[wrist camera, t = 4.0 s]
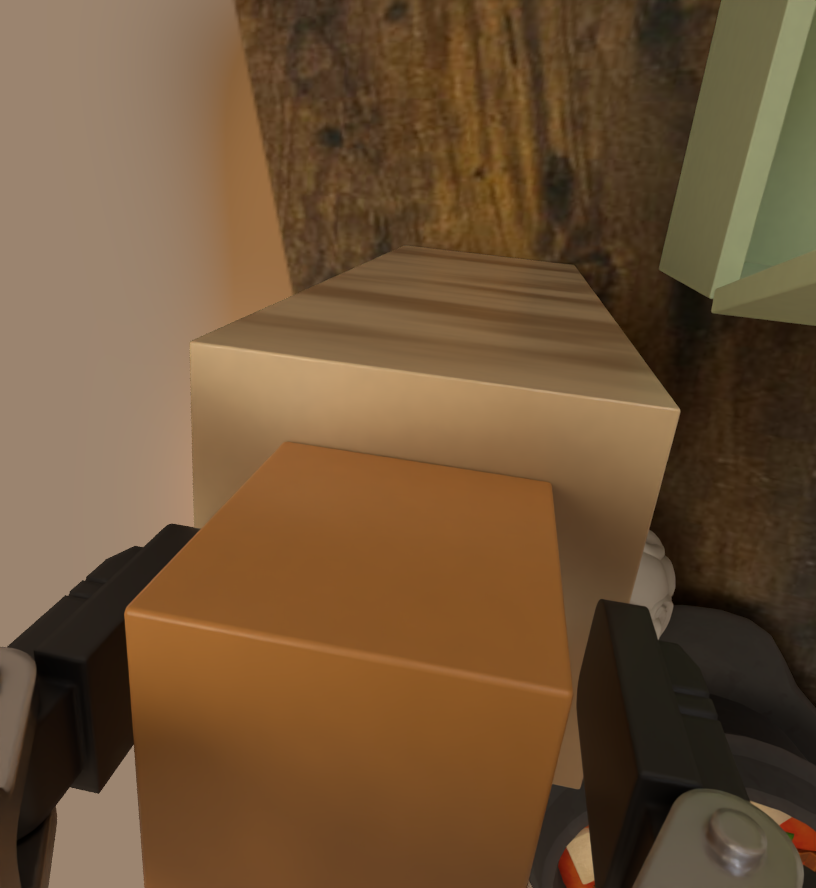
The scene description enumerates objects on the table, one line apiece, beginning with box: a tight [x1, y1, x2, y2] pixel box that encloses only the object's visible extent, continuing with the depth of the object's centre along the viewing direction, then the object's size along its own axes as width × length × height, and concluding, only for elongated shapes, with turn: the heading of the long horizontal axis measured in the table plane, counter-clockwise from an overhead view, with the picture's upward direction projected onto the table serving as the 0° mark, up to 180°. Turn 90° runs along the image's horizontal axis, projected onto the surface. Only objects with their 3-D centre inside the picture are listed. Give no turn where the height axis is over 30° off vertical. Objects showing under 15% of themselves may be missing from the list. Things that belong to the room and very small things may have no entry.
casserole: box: [529, 605, 816, 888], centre depth 36 cm, size 25×19×8 cm
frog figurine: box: [629, 530, 675, 639], centre depth 32 cm, size 6×7×7 cm
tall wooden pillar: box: [190, 245, 680, 789], centre depth 22 cm, size 8×8×22 cm
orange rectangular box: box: [124, 442, 574, 888], centre depth 10 cm, size 5×5×5 cm
